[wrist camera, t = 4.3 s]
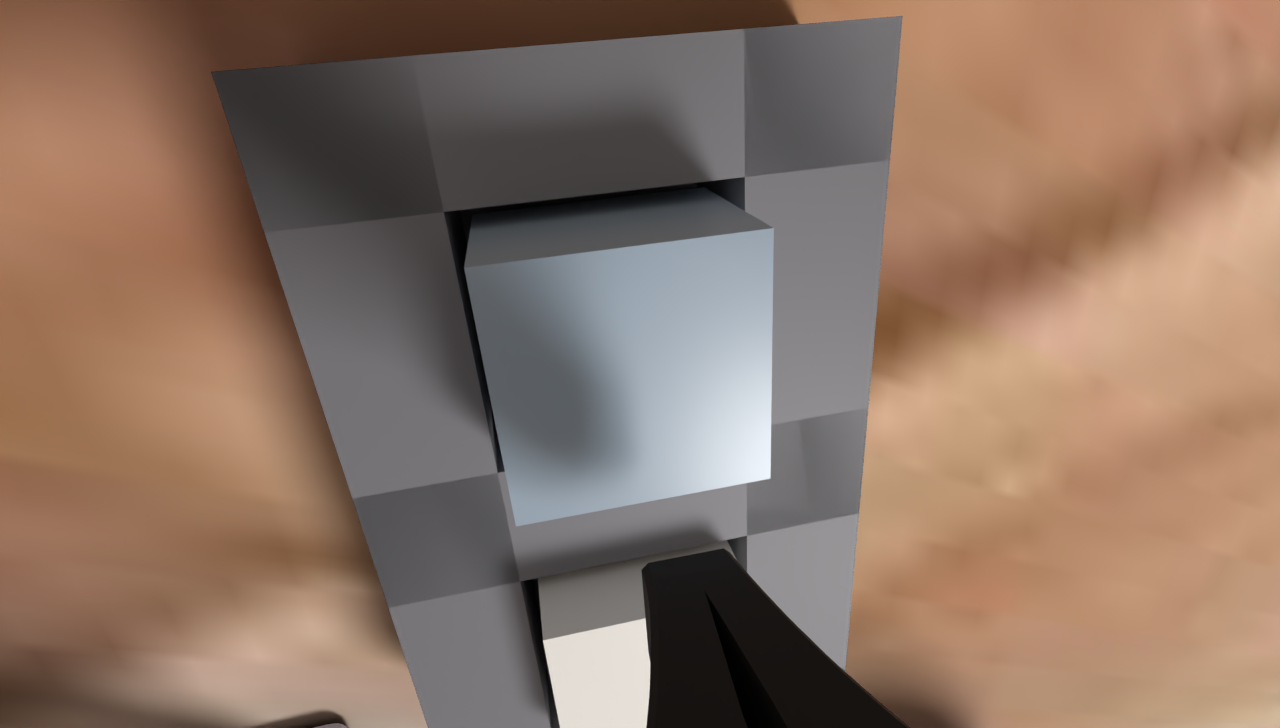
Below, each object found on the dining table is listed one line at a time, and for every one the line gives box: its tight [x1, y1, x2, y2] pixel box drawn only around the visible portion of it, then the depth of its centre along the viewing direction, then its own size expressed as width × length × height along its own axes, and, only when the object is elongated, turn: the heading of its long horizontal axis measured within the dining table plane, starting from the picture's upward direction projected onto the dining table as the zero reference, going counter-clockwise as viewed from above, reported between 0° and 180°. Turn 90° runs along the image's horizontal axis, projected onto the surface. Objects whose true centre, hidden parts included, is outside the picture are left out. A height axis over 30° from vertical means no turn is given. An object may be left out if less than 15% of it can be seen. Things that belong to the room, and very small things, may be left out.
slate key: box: [464, 187, 774, 526], centre depth 13 cm, size 5×5×4 cm
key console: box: [211, 16, 902, 728], centre depth 18 cm, size 20×12×4 cm, turn 4°
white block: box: [538, 540, 736, 728], centre depth 18 cm, size 5×5×4 cm
